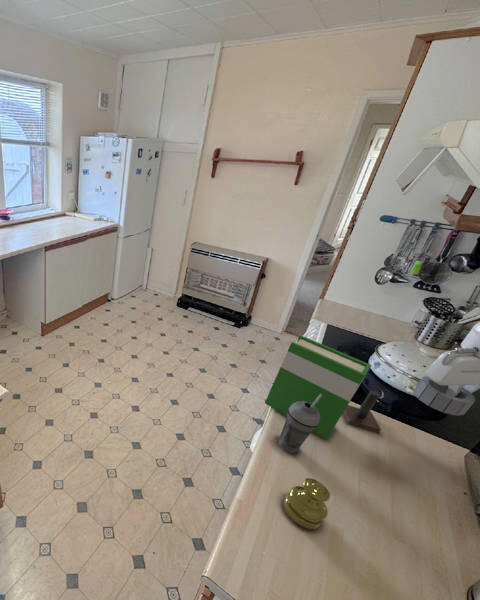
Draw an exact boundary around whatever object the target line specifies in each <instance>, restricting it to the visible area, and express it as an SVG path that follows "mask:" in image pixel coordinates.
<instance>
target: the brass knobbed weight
mask: <svg viewBox="0 0 480 600" xmlns="http://www.w3.org/2000/svg"><path fill="white" fill-rule="evenodd" d="M330 498H331V493H330V491H329V489H328V488H327V487H326V486H325V484H324V483H322V482H320V481H319V480H317V479H314V478H312V477H311V478H310V477H309V478H305V479H303V481H302V486H301V485H295V486H292V487H291V488H289V492H288V493H287V494H286V496H285V498H284V500H283V507H284V510H285V513H286V514H287V516H288V517H289V518H290V519H291V520H292V521H293V522H294V523H296V524H297V525H298V526H300V527H301V528H304V529H307V530H317V529H318V528H319V527H320V525H322V524H323V522H324V520H325V519H326V518H327V516H328V508H327V504H326V503H325V502H327V501H329V500H330Z"/></svg>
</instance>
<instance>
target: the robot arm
mask: <svg viewBox="0 0 480 600" xmlns="http://www.w3.org/2000/svg"><path fill="white" fill-rule="evenodd" d="M425 376H427V377H428V378H429V379H431V380H432V381H434V382H436V383H437V384H439V385H448V387H449V388H448V389H447V390H446V392H445V393H446V394H447V395H449V396H451V397H459V396H460V395H461V394H462V392H461V391H460V390H461V387H463V388H464V389H466V390H468V391H469V392H470V393H471V394H472V395H473V393H474V392H476V391H478V390H480V321H479V322H477V323H476V324H474V325H473V326H472V328H471V329H470V330H469V332H468V333H467V334H466V336H465V337H464V339H463V340H462V342H461V343H460V347H455V348H454V349H453V350H447V351H444V352H443V353H442V354H440V355H439V356H438V357H437V358H436V359H435V360H434V362H432V363H431V365H430V366H429V368H428V369H427V370H426V371H425Z"/></svg>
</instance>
